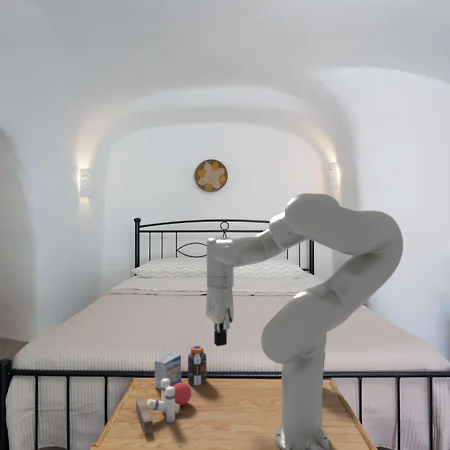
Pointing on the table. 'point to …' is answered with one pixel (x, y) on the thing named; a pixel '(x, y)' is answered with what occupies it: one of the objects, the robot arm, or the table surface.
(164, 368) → the medicine box
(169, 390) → the pin
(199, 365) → the pill bottle
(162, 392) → the pin
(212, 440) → the table surface
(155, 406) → the front pin
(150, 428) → the back wall
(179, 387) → the ball
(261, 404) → the table surface
